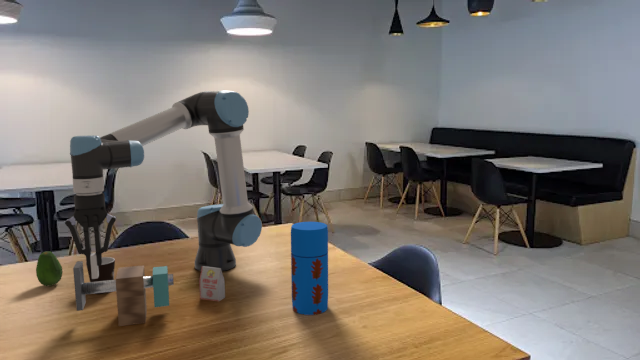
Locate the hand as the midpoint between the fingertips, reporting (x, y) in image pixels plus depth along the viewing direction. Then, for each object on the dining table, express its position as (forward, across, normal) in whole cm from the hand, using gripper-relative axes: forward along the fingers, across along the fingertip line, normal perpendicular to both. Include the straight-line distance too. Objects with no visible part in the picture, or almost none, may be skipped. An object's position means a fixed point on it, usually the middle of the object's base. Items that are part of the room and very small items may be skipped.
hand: (95, 277), depth 141 cm
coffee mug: (+13, -1, +27) cm, 30 cm away
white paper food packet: (+13, +32, +8) cm, 36 cm away
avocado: (+13, -19, +36) cm, 43 cm away
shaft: (+8, +8, 0) cm, 11 cm away
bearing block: (+13, +9, 0) cm, 16 cm away
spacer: (+9, +17, 0) cm, 20 cm away
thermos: (+13, +59, -9) cm, 61 cm away
